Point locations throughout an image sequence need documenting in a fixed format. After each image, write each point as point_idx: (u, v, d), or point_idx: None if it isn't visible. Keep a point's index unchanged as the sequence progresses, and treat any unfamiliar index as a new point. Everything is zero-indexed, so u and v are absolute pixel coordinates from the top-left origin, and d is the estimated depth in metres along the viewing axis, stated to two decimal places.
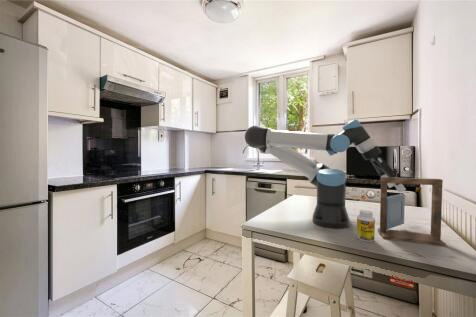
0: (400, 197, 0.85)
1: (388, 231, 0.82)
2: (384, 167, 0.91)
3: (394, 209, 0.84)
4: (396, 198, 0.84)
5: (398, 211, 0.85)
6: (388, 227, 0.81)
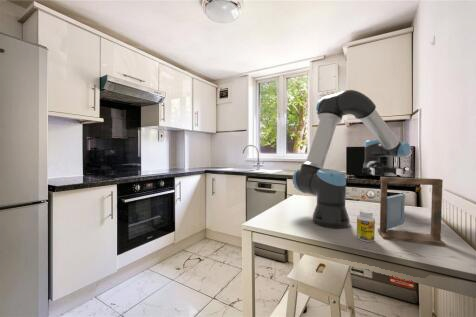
0: (400, 197, 0.85)
1: (388, 231, 0.82)
2: None
3: (394, 209, 0.84)
4: (396, 198, 0.84)
5: (398, 211, 0.85)
6: (388, 227, 0.81)
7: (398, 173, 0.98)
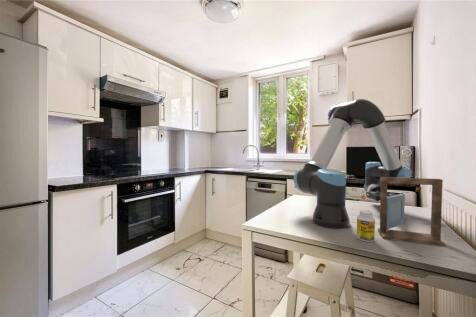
0: (400, 197, 0.85)
1: (388, 231, 0.82)
2: None
3: (394, 209, 0.84)
4: (396, 198, 0.84)
5: (398, 211, 0.85)
6: (388, 227, 0.81)
7: None
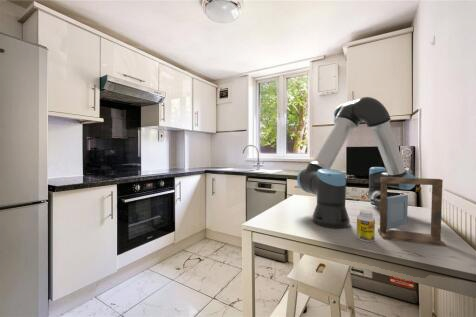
0: (402, 197, 0.84)
1: (388, 231, 0.82)
2: None
3: (395, 209, 0.83)
4: (398, 198, 0.83)
5: (400, 212, 0.84)
6: (388, 227, 0.81)
7: None
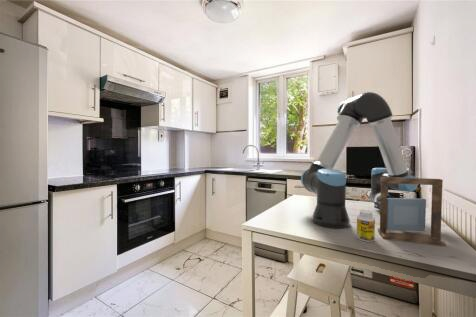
0: (415, 201, 0.79)
1: (388, 231, 0.82)
2: None
3: (404, 212, 0.80)
4: (406, 201, 0.79)
5: (412, 216, 0.79)
6: (390, 228, 0.80)
7: None
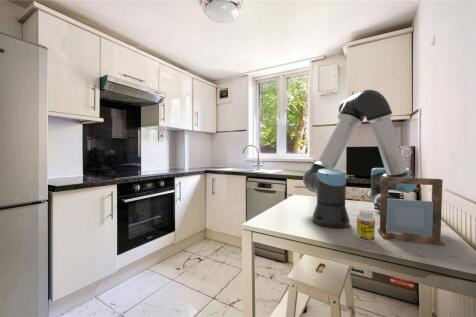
0: (420, 203, 0.75)
1: (388, 231, 0.82)
2: None
3: (406, 214, 0.77)
4: (409, 202, 0.77)
5: (416, 218, 0.76)
6: (390, 229, 0.79)
7: None
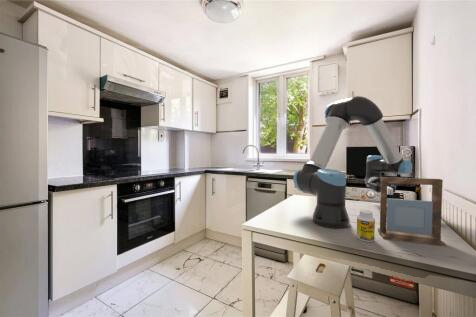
0: (420, 203, 0.76)
1: (388, 231, 0.82)
2: None
3: (406, 214, 0.78)
4: (409, 202, 0.77)
5: (416, 218, 0.77)
6: (390, 229, 0.79)
7: None
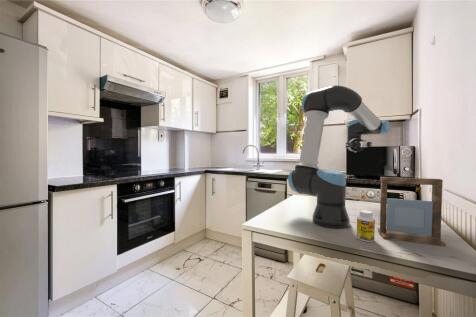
0: (420, 203, 0.76)
1: (388, 231, 0.82)
2: (370, 143, 1.11)
3: (406, 214, 0.78)
4: (409, 202, 0.77)
5: (416, 218, 0.77)
6: (390, 229, 0.79)
7: None
